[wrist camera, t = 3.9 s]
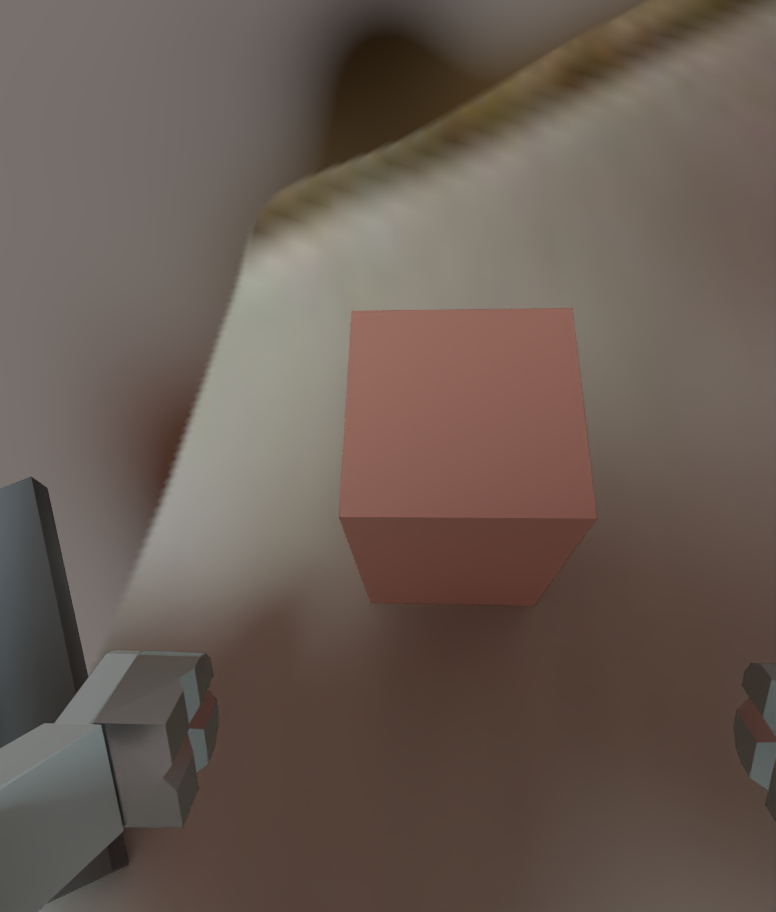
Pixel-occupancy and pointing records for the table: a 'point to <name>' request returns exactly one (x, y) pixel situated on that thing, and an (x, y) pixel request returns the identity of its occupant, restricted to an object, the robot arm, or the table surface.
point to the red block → (464, 454)
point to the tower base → (39, 635)
